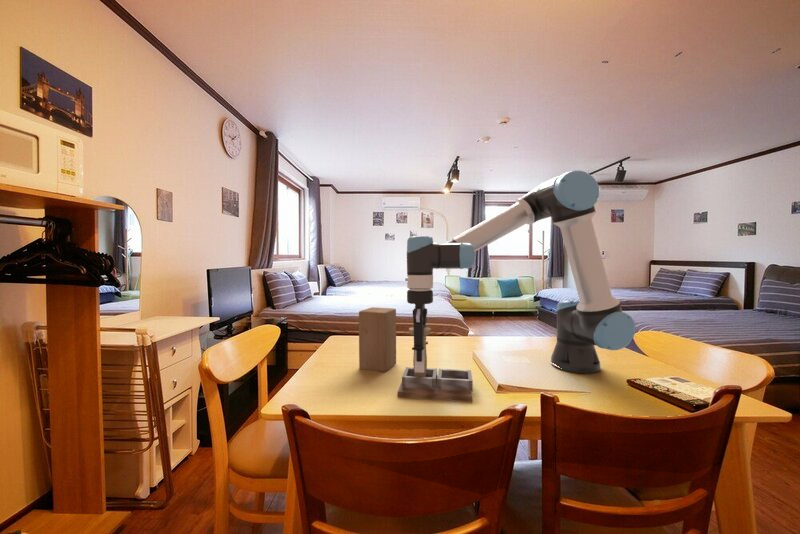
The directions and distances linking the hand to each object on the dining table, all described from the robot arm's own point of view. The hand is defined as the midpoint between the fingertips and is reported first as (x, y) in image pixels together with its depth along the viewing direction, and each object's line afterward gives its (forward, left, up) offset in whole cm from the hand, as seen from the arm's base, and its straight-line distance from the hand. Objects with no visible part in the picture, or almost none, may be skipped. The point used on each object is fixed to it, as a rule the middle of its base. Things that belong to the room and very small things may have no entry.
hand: (420, 369), depth 96 cm
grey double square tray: (-4, 0, -6) cm, 7 cm away
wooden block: (+17, -17, -6) cm, 24 cm away
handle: (0, 0, -3) cm, 3 cm away
